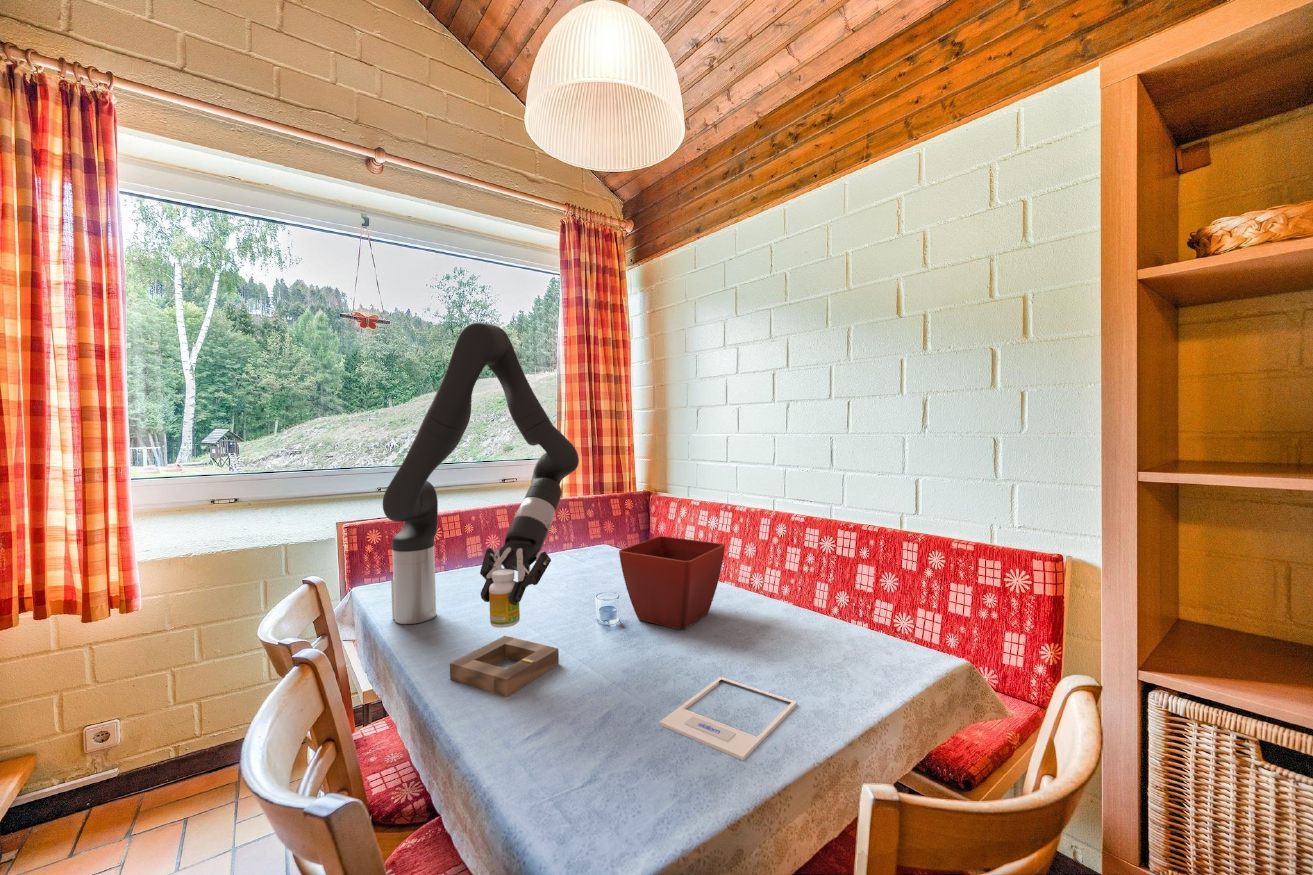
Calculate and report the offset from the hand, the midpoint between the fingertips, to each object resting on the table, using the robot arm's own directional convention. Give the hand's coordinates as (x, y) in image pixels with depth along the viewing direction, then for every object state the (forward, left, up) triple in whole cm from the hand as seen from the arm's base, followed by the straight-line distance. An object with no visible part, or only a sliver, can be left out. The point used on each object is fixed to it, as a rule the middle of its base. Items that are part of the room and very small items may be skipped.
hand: (498, 601), depth 100 cm
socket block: (0, +2, -14) cm, 14 cm away
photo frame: (+43, +7, -15) cm, 46 cm away
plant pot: (+16, +41, -14) cm, 46 cm away
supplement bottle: (0, +2, -5) cm, 5 cm away
